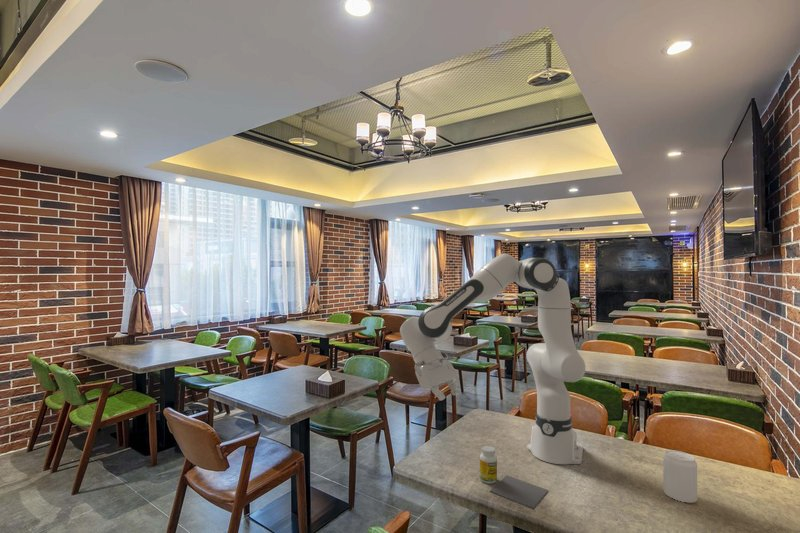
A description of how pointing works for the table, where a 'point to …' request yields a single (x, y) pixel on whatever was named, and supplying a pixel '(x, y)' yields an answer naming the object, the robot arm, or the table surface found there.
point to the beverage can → (680, 476)
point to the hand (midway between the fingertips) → (449, 396)
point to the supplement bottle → (488, 465)
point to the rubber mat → (519, 491)
